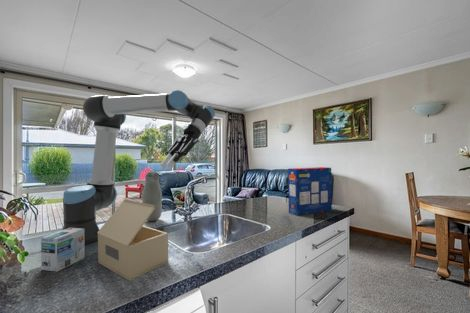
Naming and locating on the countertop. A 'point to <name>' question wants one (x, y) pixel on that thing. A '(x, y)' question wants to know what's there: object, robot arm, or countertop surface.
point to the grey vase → (153, 194)
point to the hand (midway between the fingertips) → (165, 166)
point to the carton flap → (126, 221)
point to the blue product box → (309, 190)
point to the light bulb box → (62, 249)
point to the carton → (134, 253)
